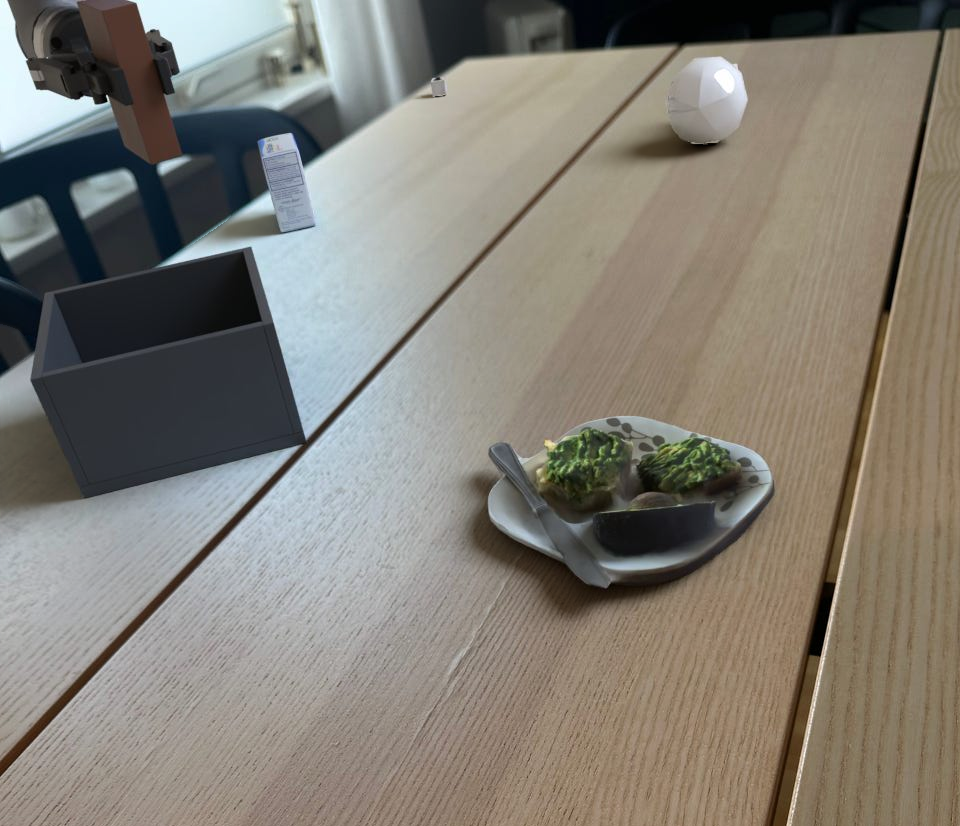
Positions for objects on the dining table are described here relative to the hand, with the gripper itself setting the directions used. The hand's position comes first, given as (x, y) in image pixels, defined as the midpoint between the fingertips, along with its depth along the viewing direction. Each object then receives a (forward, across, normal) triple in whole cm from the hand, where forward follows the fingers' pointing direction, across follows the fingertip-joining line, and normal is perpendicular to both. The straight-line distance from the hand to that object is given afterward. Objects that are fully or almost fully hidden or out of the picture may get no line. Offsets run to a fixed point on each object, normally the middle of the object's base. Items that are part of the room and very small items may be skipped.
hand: (145, 82), depth 86 cm
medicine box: (-23, -18, -22) cm, 37 cm away
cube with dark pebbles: (-59, -58, -22) cm, 85 cm away
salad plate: (+53, -11, -22) cm, 58 cm away
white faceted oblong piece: (-7, -67, -22) cm, 71 cm away
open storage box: (+17, +9, -22) cm, 29 cm away
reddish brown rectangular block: (-5, 0, -6) cm, 8 cm away
